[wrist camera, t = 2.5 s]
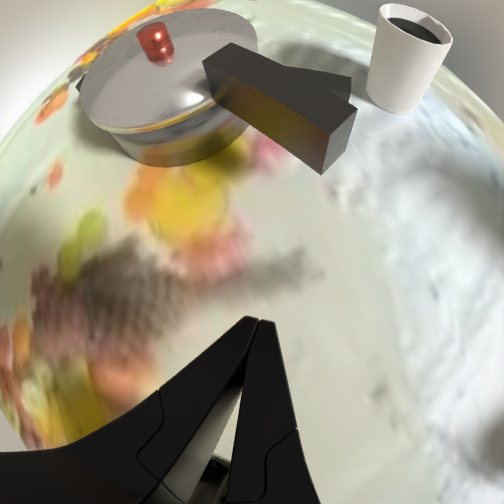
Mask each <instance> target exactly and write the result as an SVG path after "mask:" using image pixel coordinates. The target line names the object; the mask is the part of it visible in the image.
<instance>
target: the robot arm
mask: <svg viewBox="0 0 504 504" xmlns="http://www.w3.org/2000/svg"><path fill="white" fill-rule="evenodd" d="M241 391H242V395H241V401H240V408H239V414H238V420H237V427H236V433H235V439H234V446H233V452H232V458H231V464H230V466H229V465H227V464H225V463H224V462H222V461H221V460H219V459H217V458H211V456H212V453H213V451H214V449H215V447H216V445H217V443H218V441H219V439H220V437H221V435H222V433H223V431H224V429H225V426H226V424H227V422H228V420H229V418H230V416H231V414H232V411H233V409H234V407H235V405H236V403H237V401H238V398H239V396H240V394H241ZM296 428H297V422H296V418H295V413H294V408H293V403H292V399H291V394H290V389H289V385H288V380H287V375H286V371H285V366H284V361H283V357H282V352H281V347H280V343H279V338H278V334H277V329H276V325H275V323H274V322H273V321H268V320H264V319H261V320H259V319H258V318H255V317H251V316H244V317H243V318H242V319H240V320H239V321H238V322H237V323H236V324H235V325H234V326H232V327H231V328H230V329H229V330H228V331H227V332H226V333H224V334H223V335H222V336H221V337H220V338H219V339H217V340H216V341H215V342H214V343H213V344H212V345H210V346H209V347H208V348H207V349H206V350H205V351H203V352H202V353H201V354H200V355H199V356H197V357H196V358H195V359H194V360H193V361H191V362H190V363H189V364H188V365H187V366H186V367H184V368H183V369H182V370H181V371H179V372H178V373H177V374H176V375H175V376H173V377H172V378H171V379H170V380H169V381H167V382H166V383H165V384H164V385H162V386H161V387H160V388H159V390H156V391H155V392H154V393H152V394H151V395H150V396H149V397H147V398H146V399H145V400H143V401H142V402H141V403H139V404H138V405H137V406H135V407H134V408H132V409H131V410H129V411H128V412H126V413H125V414H123V415H122V416H120V417H118V418H117V419H115V420H113V421H112V422H110V423H108V424H106V425H105V426H103V427H101V428H99V429H98V430H96V431H94V432H92V433H90V434H88V435H87V436H85V437H83V438H81V439H79V440H77V441H75V442H73V443H71V444H68V445H66V446H62V447H59V448H54V449H46V450H34V451H19V452H0V504H321V503H320V500H319V498H318V495H317V492H316V490H315V487H314V484H313V482H312V479H311V476H310V473H309V470H308V467H307V464H306V461H305V457H304V453H303V449H302V445H301V441H300V436H299V431H298V429H296ZM210 458H211V459H210ZM212 462H215V463H216V464H217V465H213V464H212Z"/></svg>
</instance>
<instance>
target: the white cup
mask: <svg viewBox="0 0 504 504" xmlns="http://www.w3.org/2000/svg"><path fill="white" fill-rule="evenodd" d="M452 41H453V38H452V37H451V34H450V33H449V31H448V30H447V29H446V28H445V27H444V26H443V25H442V24H441V23H440V22H438V21H437V20H435V19H434V18H432V17H431V16H429V15H428V14H426V13H424V12H421V11H419V10H417V9H415V8H411V7H408V6H405V5H399V4H386V5H383V6H382V7H381V8H380V11H379V17H378V23H377V29H376V35H375V40H374V46H373V51H372V57H371V62H370V67H369V72H368V77H367V82H366V93H367V94H368V96H369V98H370V99H371V101H373V102H374V103H375V104H376V105H377V106H378V107H380V108H382V109H384V110H385V111H387V112H389V113H394V114H398V115H405V114H409V113H411V112H413V111H414V110H415V108H416V106H417V105H418V103H419V101H420V100H421V98H422V96H423V95H424V93H425V91H426V90H427V88H428V86H429V84H430V83H431V81H432V79H433V78H434V76H435V74H436V72H437V70H438V69H439V67H440V65H441V63H442V62H443V60H444V58H445V56H446V54H447V52H448V50H449V49H450V47H451V45H452Z"/></svg>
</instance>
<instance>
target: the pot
mask: <svg viewBox="0 0 504 504" xmlns="http://www.w3.org/2000/svg"><path fill="white" fill-rule="evenodd" d="M285 67H287V66H285ZM287 68H289V69H291V70H293V71H295V72H297V73H299V74H300V75H302V76H304V77H306V78H308V79H310V80H311V81H313V82H315V83H317V84H318V85H320V86H322V87H324V88H325V89H327V90H329V91H330V92H332V93H334V94H335V95H337V96H339V97H340V98H342V99H343V100H345V101H347V102H349V97H350V93H351V77H347V76H342V75H337V74H332V73H327V72H321V71H315V70H309V69H302V68H295V67H287ZM85 75H86V74H84V75H83V77H82V78H81V80H80V81H79V83H78V84H77V85H76V89H77V90H78V91H79V92H80V88H81V84H82V82H83V79H84V77H85ZM248 126H249V124H248V123H247V122H245V121H244V120H242V119H240V118H239V117H237V116H236V115H234V114H233V113H231V112H229V111H228V110H226V109H225V108H223V107H221V106H220V105H218V104H215V105H213V106H212V107H210V108H208V109H207V110H205V111H203V112H201V113H199V114H197V115H195V116H193V117H191V118H189V119H186V120H184V121H181V122H179V123H177V124H173V125H170V126H167V127H164V128H161V129H157V130H153V131H149V132H142V133H132V134H121V133H113V132H109V131H108V132H109V133H110V134H111V135H112V136H113V137H114V139H115V140H116V141H117V142H118V143H119V144H120V146H121V147H122V148H123V149H124V150H125V151H126V152H127V154H128V155H129V156H131V157H132V158H133V159H134V160H136V161H138V162H140V163H143V164H146V165H149V166H154V167H177V166H183V165H188V164H191V163H195V162H198V161H200V160H203V159H205V158H208V157H210V156H212V155H214V154H216V153H218V152H219V151H221V150H223V149H224V148H226V147H227V146H229V145H230V144H231V143H232V142H234V141H235V140H236V139H237V138H238V137H239V136H240V135H241V134H242V133H243V132H244V131H245V130H246V128H247V127H248Z"/></svg>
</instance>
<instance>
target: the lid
mask: <svg viewBox="0 0 504 504" xmlns="http://www.w3.org/2000/svg"><path fill="white" fill-rule="evenodd" d="M79 100H80V105H81V108H82V110H83V112H84V113H85V114H86V115H87V117H88V118H89V119H90V120H91V121H92V122H93V123H94V124H95V125H96V126H98V127H99V128H101V129H103V130H105V131H109V132H113V133H121V134H132V133H142V132H149V131H153V130H157V129H161V128H164V127H167V126H170V125H173V124H177V123H179V122H181V121H184V120H186V119H189V118H191V117H193V116H195V115H197V114H199V113H201V112H203V111H205V110H207V109H208V108H210V107H212V106H213V105H215V104H218V105H220V106H221V107H223V108H225V109H226V110H228V111H229V112H231V113H233V114H234V115H236V116H237V117H239V118H240V119H242V120H244V121H245V122H247V123H248V124H250V125H251V126H253V127H254V128H256V129H257V130H259V131H260V132H262V133H263V134H265V135H266V136H268V137H269V138H270V139H272V140H273V141H275V142H276V143H278V144H279V145H280V146H282V147H283V148H285V149H286V150H288V151H289V152H290V153H292V154H293V155H294V156H296V157H297V158H299V159H300V160H301V161H303V162H304V163H305V164H307V165H308V166H309V167H311V168H312V169H313V170H315V171H316V172H317V173H319V174H320V175H322V174H323V173H324V172H325V171H326V170H327V169H328V168H329V167H330V166H331V165H332V164H333V163H334V162H335V161H336V160H337V159H338V157H339V156H340V155H341V154H342V153H343V152H344V151H345V149H346V146H347V143H348V139H349V136H350V133H351V130H352V126H353V123H354V120H355V117H356V113H357V110H358V109H357V108H356V107H354V106H353V105H351V104H350V103H348V102H347V101H345V100H343V99H342V98H340V97H339V96H337V95H335V94H334V93H332V92H330V91H329V90H327V89H325V88H324V87H322V86H320V85H318V84H317V83H315V82H313V81H311V80H310V79H308V78H306V77H304V76H302V75H300V74H299V73H297V72H295V71H293V70H291V69H289V68H287V67H285V66H283V65H281V64H279V63H277V62H275V61H273V60H271V59H269V58H266V57H264V56H262V55H260V54H258V43H257V36H256V32H255V30H254V28H253V26H252V25H251V24H250V23H249V21H247V20H246V19H245V18H243V17H241V16H239V15H238V14H235V13H232V12H229V11H225V10H220V9H207V8H202V9H190V10H183V11H178V12H173V13H170V14H166V15H163V16H160V17H157V18H155V19H152V20H150V21H147V22H145V23H143V24H141V25H139V26H137V27H135V28H134V29H132V30H130V31H128V32H127V33H125V34H124V35H122V36H121V37H120V38H118V39H117V40H116V41H114V42H113V43H112V44H111V45H110V46H108V47H107V48H106V49H105V50H104V51H103V52H102V53H101V54H100V55H99V56H98V58H97V59H96V60H95V61H94V62H93V64H92V65H91V67H90V68H89V70H88V71H87V73H86V75H85V77H84V79H83V82H82V84H81V88H80V95H79Z"/></svg>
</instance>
